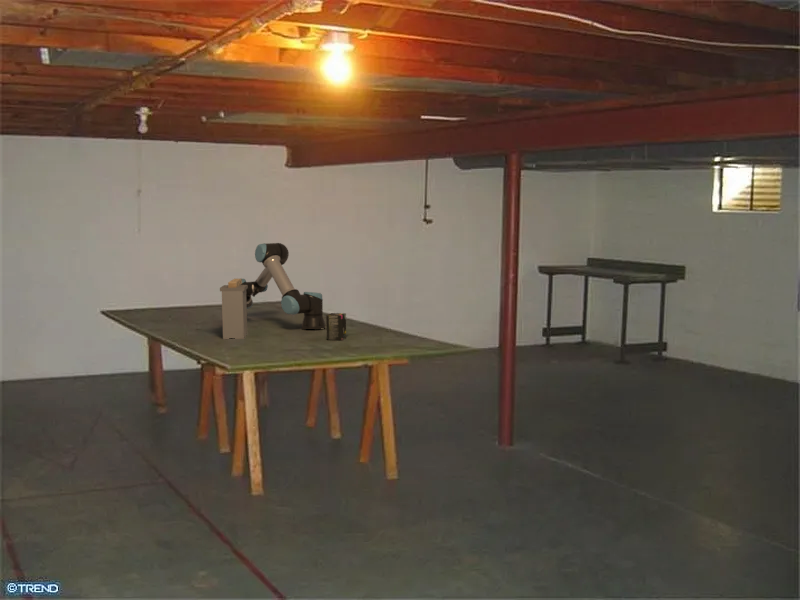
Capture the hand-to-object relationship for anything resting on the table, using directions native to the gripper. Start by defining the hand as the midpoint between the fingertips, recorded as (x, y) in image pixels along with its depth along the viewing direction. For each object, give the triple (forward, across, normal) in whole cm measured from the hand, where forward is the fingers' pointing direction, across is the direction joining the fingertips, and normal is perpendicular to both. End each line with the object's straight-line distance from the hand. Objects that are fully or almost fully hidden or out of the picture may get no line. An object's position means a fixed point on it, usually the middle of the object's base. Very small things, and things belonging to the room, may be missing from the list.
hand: (241, 286), depth 562 cm
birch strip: (+28, +1, -9) cm, 29 cm away
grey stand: (+21, 0, -39) cm, 44 cm away
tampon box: (+36, -60, -44) cm, 83 cm away
